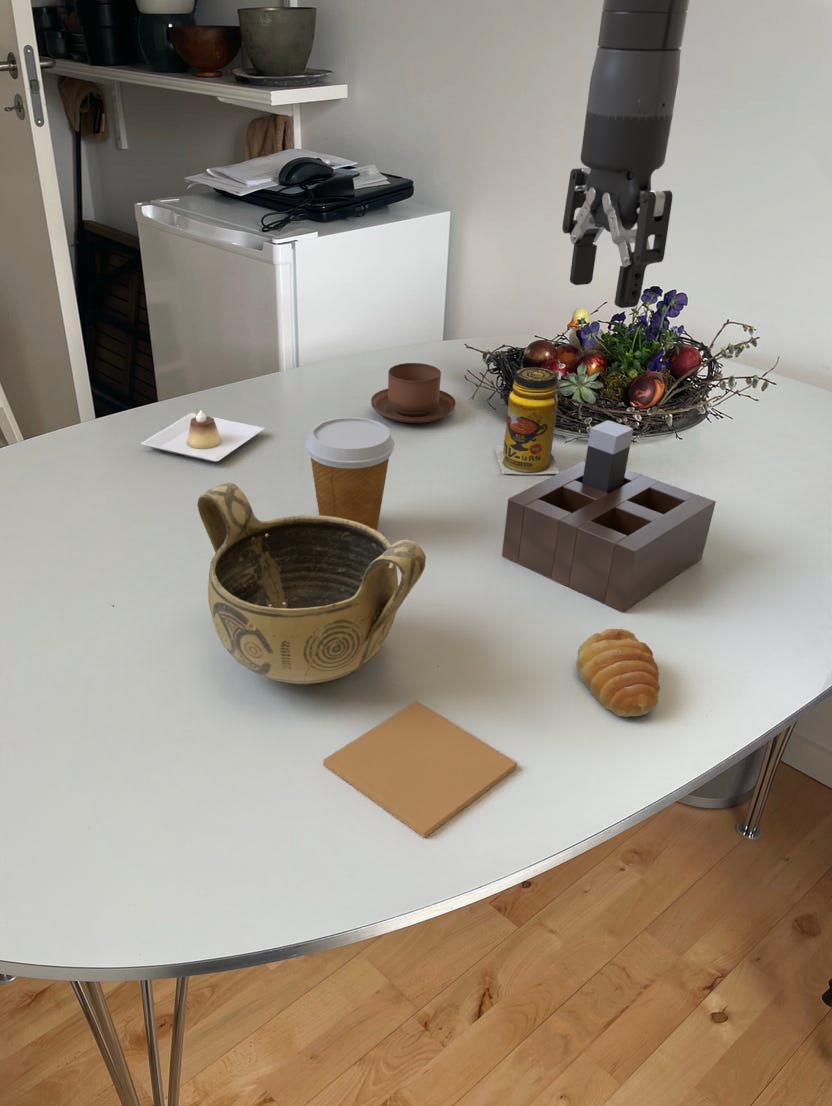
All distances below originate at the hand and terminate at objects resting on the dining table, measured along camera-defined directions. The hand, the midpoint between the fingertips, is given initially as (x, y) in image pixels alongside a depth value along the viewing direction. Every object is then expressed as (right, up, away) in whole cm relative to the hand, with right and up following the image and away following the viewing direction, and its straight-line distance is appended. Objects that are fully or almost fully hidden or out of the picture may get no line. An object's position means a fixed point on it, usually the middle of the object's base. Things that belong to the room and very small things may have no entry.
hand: (602, 294), depth 95 cm
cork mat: (-19, -44, -17) cm, 51 cm away
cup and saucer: (-16, -2, +44) cm, 46 cm away
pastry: (-1, -38, -8) cm, 39 cm away
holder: (+3, -25, +10) cm, 27 cm away
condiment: (-2, -11, +31) cm, 33 cm away
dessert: (-44, -8, +35) cm, 57 cm away
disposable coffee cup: (-25, -22, +15) cm, 36 cm away
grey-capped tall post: (+3, -22, +14) cm, 27 cm away
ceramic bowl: (-29, -36, -6) cm, 46 cm away
